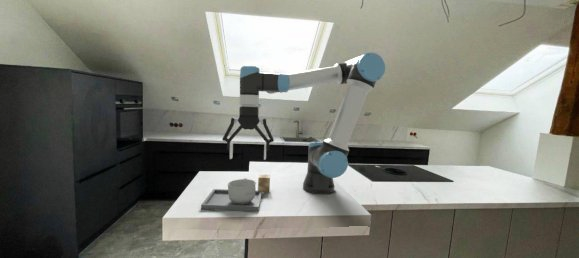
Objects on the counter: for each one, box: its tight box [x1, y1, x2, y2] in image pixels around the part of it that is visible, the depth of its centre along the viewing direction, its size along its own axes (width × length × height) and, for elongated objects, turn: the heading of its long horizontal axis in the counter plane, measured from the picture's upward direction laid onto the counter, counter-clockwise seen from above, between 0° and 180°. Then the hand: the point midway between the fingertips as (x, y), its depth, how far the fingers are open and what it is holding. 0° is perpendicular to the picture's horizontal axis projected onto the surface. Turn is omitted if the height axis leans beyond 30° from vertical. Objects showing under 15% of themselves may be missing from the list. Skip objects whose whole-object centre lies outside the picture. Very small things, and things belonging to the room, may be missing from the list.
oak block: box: [257, 174, 271, 194], centre depth 119 cm, size 5×5×7 cm
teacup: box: [227, 177, 257, 205], centre depth 105 cm, size 14×11×8 cm
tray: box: [200, 188, 263, 212], centre depth 105 cm, size 21×18×2 cm
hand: (248, 158), depth 106 cm, fingers open, 13 cm apart
